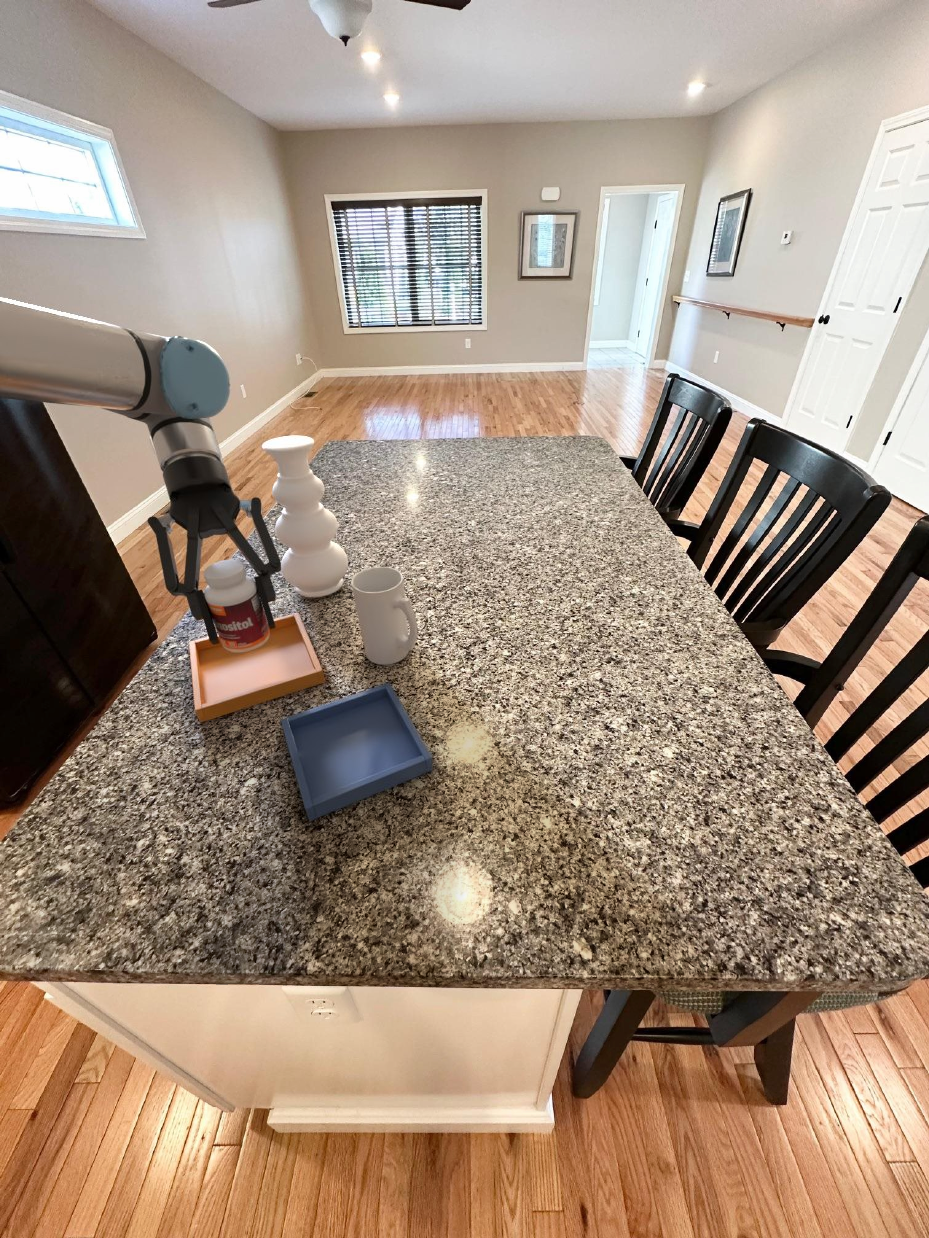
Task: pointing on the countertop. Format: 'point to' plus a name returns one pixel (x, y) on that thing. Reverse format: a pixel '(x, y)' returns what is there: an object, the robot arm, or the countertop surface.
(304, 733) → the blue tray
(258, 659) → the amber tray
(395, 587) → the mug
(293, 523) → the vase
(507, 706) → the countertop surface
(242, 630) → the pill bottle
